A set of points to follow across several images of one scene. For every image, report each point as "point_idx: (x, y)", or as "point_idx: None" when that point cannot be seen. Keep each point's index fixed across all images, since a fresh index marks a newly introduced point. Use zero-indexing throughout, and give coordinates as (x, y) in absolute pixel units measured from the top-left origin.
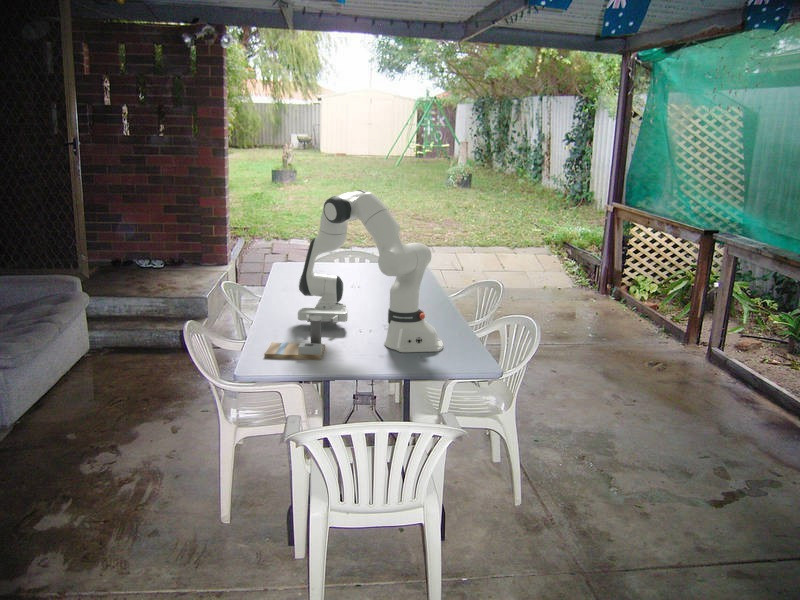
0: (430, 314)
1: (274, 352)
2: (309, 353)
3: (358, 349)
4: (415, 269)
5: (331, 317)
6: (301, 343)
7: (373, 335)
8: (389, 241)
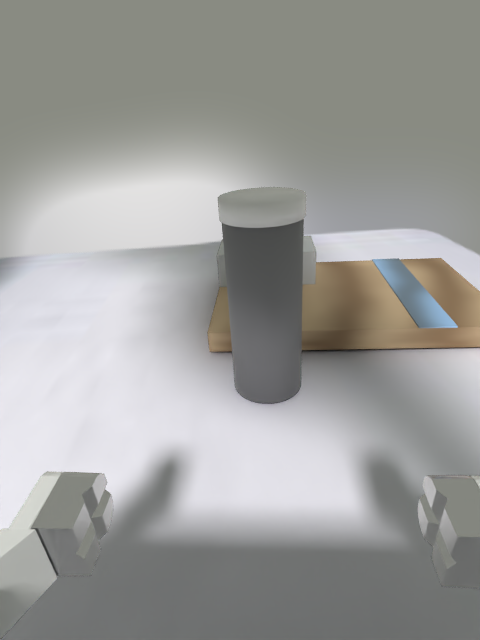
0: None
1: (411, 266)
2: None
3: (35, 360)
4: None
5: (71, 518)
6: (309, 249)
7: None
8: None
